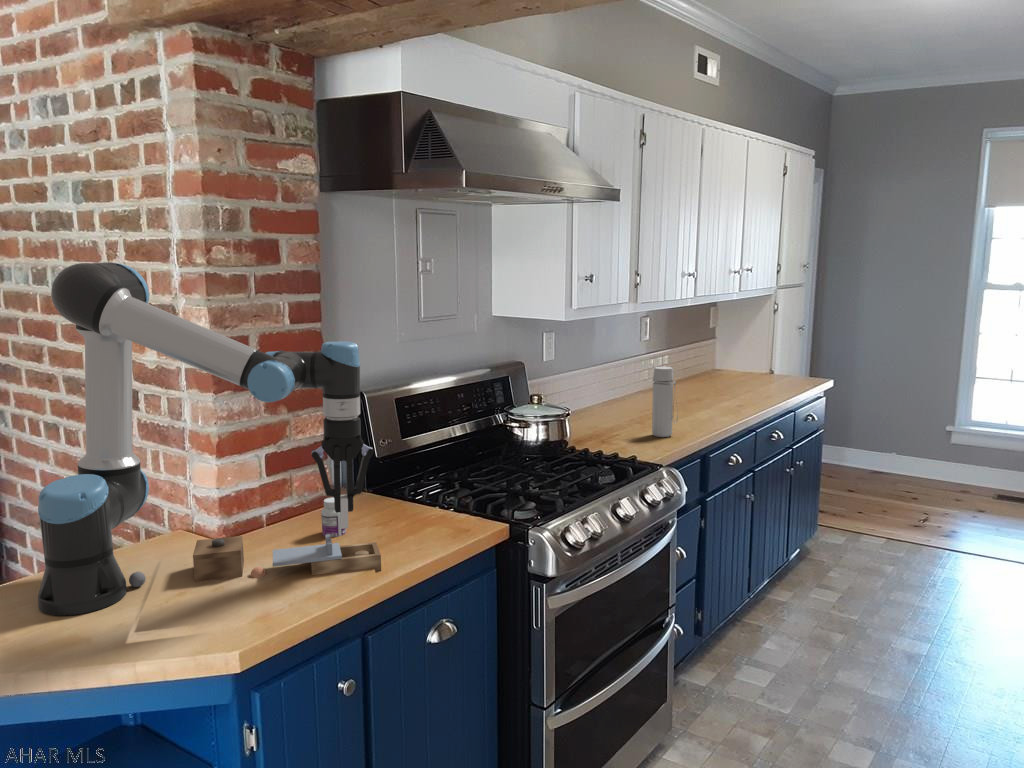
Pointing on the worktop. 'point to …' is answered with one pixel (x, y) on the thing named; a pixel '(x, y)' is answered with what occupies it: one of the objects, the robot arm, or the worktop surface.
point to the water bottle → (663, 401)
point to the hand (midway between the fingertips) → (344, 526)
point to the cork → (361, 553)
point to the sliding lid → (307, 553)
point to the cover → (218, 558)
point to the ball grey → (137, 579)
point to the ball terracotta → (258, 572)
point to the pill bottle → (331, 520)
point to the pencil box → (350, 559)
